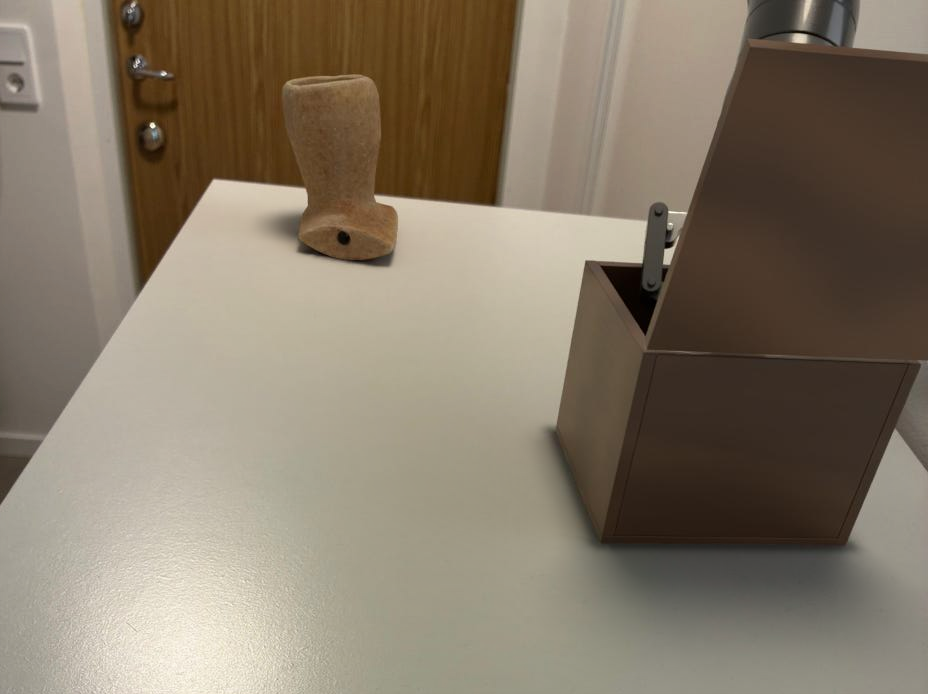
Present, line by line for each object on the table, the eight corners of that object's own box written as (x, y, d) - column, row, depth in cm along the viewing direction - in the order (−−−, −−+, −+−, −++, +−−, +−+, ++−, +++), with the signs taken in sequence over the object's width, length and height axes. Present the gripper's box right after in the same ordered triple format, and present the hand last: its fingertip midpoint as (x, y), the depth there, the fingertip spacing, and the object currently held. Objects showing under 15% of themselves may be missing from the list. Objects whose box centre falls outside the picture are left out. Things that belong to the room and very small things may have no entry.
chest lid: (745, 37, 41) (750, 46, 41) (1100, 68, 43) (1108, 77, 43) (643, 340, 54) (646, 350, 53) (922, 352, 56) (928, 361, 56)
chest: (554, 434, 73) (585, 259, 65) (765, 439, 75) (820, 272, 67) (599, 546, 62) (643, 353, 54) (844, 548, 64) (922, 364, 56)
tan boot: (293, 211, 107) (291, 54, 98) (401, 222, 108) (410, 67, 98) (270, 259, 96) (266, 85, 86) (392, 270, 96) (401, 99, 87)
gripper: (671, 80, 61) (611, 337, 59) (911, 116, 59) (855, 382, 57) (658, 153, 68) (605, 382, 67) (871, 187, 66) (820, 423, 65)
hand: (721, 381), depth 62 cm, fingers closed on pill bottle, 6 cm apart
